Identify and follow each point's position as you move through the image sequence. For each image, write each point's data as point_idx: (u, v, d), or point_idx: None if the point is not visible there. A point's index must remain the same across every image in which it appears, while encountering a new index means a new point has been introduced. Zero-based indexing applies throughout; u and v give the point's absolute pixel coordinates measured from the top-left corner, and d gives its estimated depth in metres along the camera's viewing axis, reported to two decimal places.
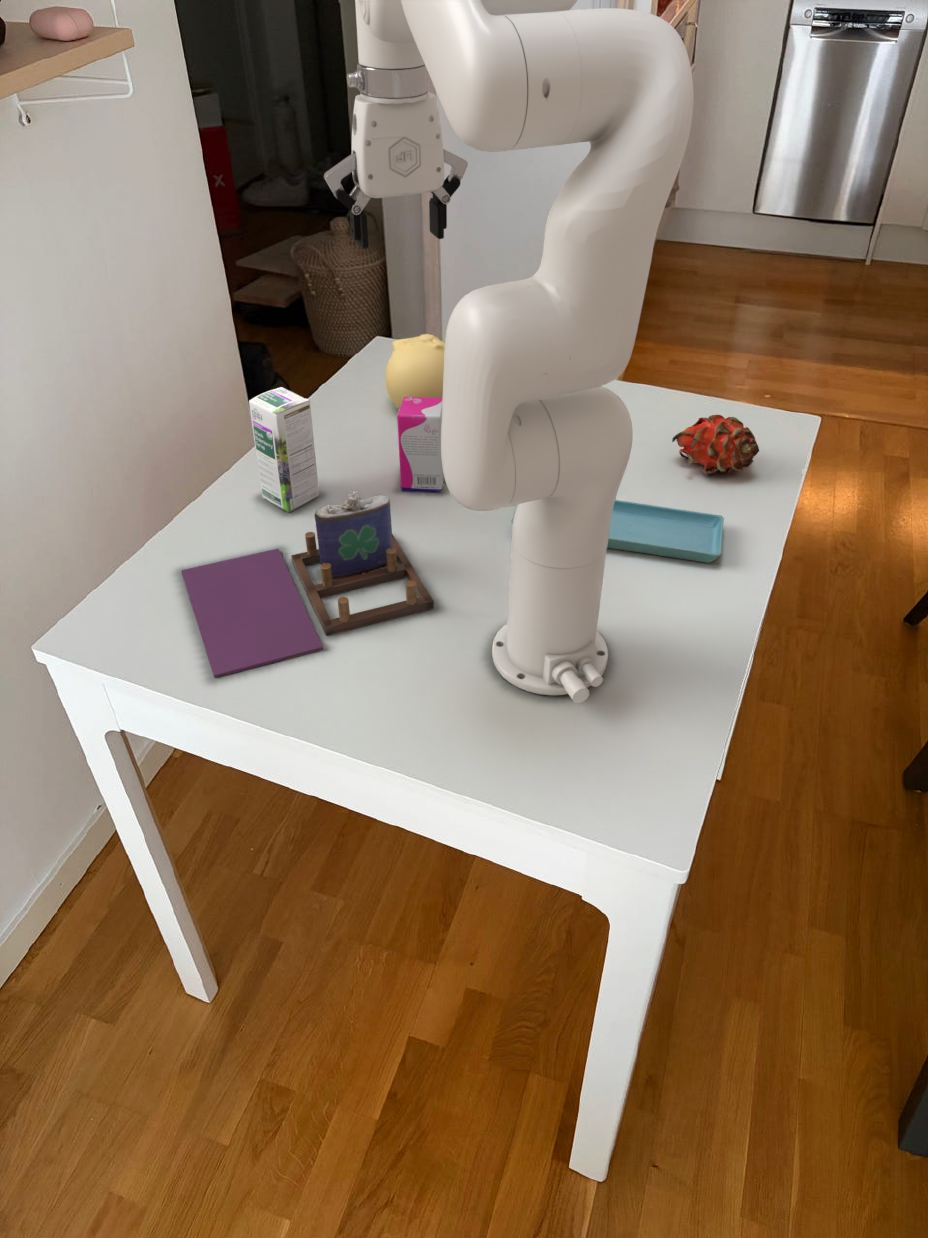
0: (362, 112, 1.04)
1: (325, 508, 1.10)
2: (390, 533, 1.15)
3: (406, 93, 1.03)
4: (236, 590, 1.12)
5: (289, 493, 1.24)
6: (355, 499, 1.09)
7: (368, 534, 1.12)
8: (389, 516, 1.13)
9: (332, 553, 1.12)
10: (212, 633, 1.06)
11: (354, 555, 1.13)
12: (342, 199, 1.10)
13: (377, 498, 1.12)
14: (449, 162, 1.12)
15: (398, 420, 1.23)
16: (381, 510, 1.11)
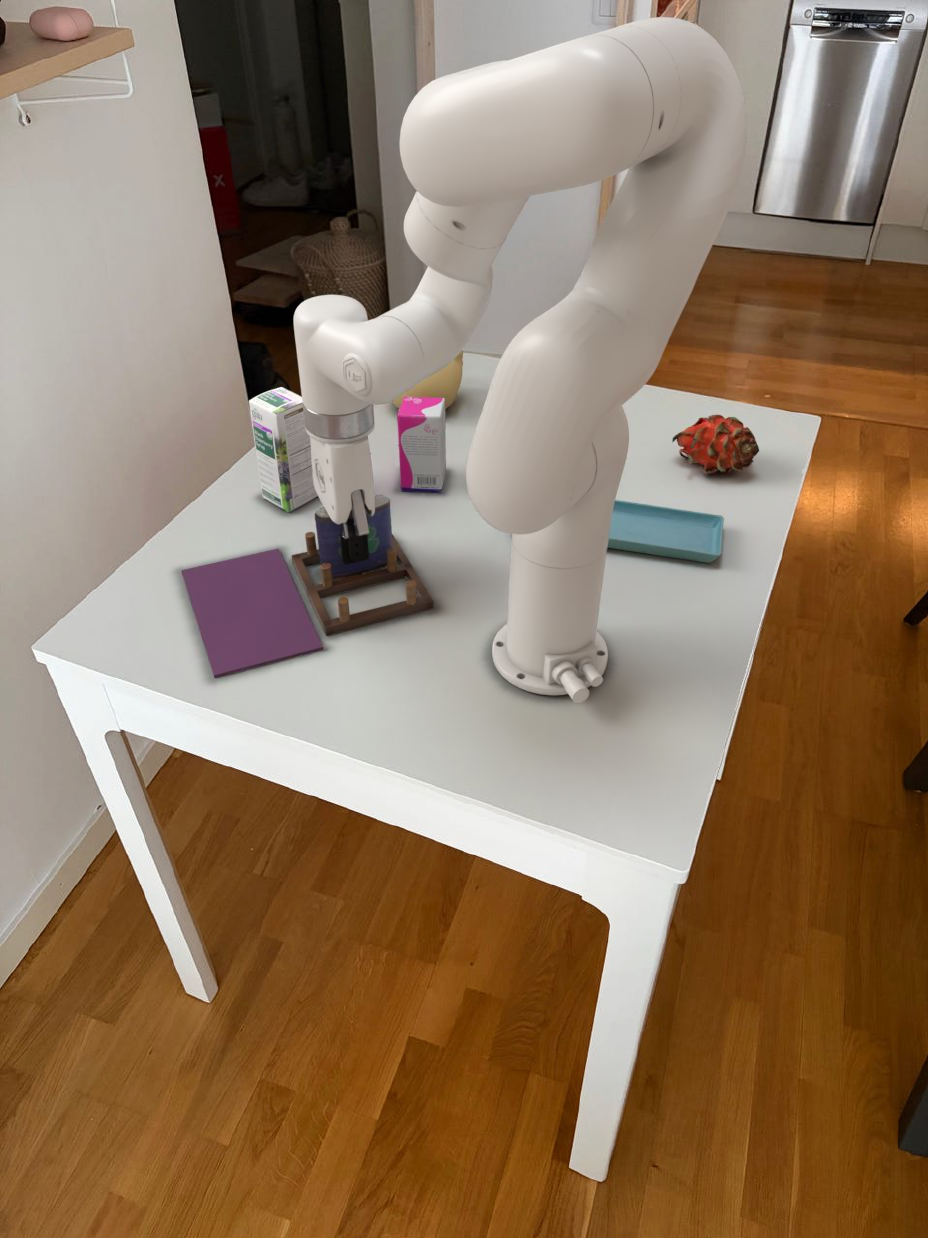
0: None
1: None
2: (390, 532, 1.15)
3: (306, 425, 1.02)
4: (236, 590, 1.12)
5: (289, 493, 1.24)
6: None
7: None
8: (389, 516, 1.13)
9: (332, 553, 1.12)
10: (212, 633, 1.06)
11: None
12: None
13: (377, 498, 1.12)
14: (353, 515, 1.06)
15: (398, 420, 1.23)
16: (381, 510, 1.11)
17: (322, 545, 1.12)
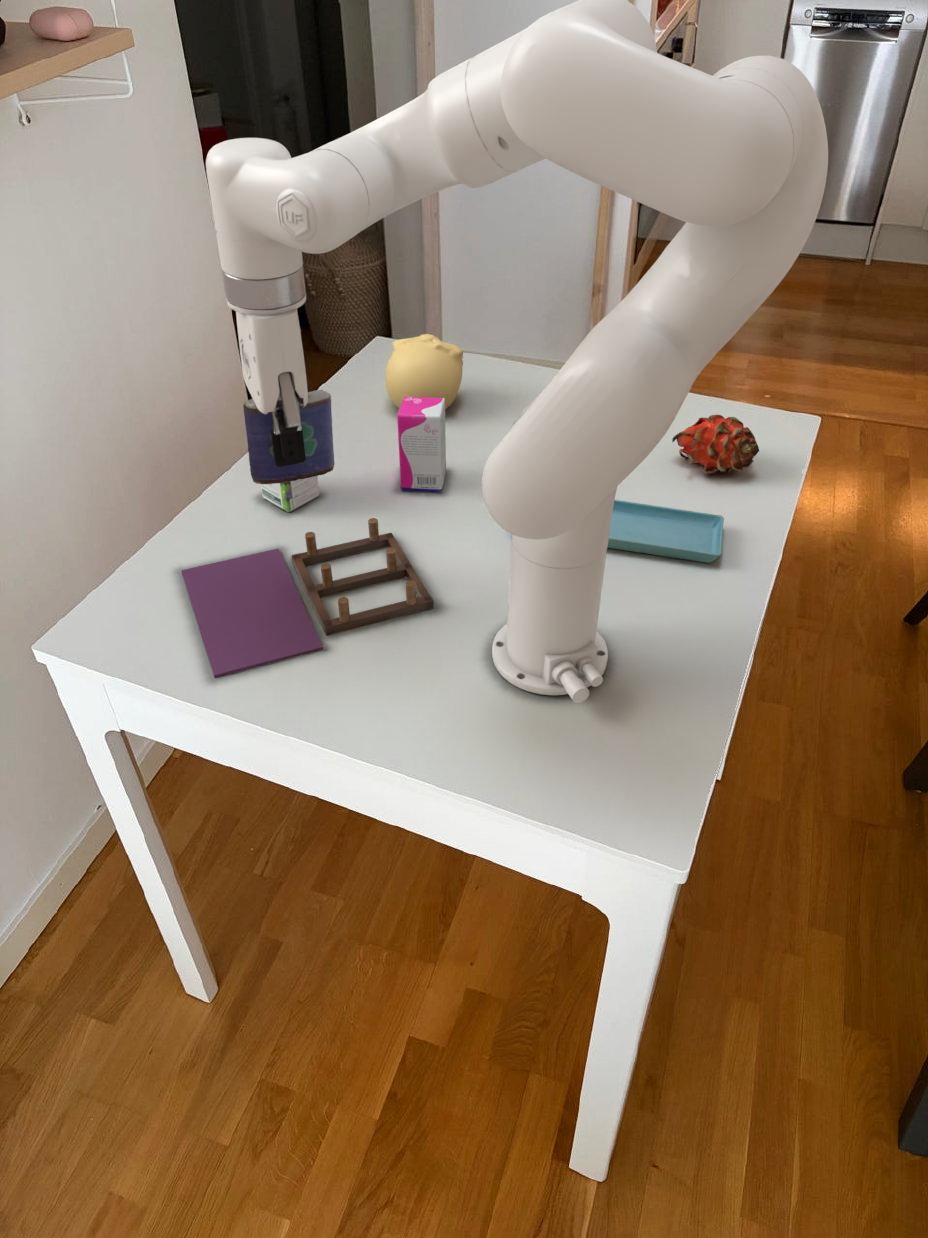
0: None
1: None
2: (330, 435, 1.02)
3: (226, 295, 0.89)
4: (236, 590, 1.12)
5: (289, 493, 1.24)
6: None
7: (304, 432, 1.00)
8: (329, 414, 1.00)
9: (263, 453, 1.00)
10: (212, 633, 1.06)
11: None
12: None
13: (316, 393, 1.00)
14: (282, 404, 0.93)
15: (398, 420, 1.23)
16: (319, 406, 0.99)
17: (251, 442, 0.99)
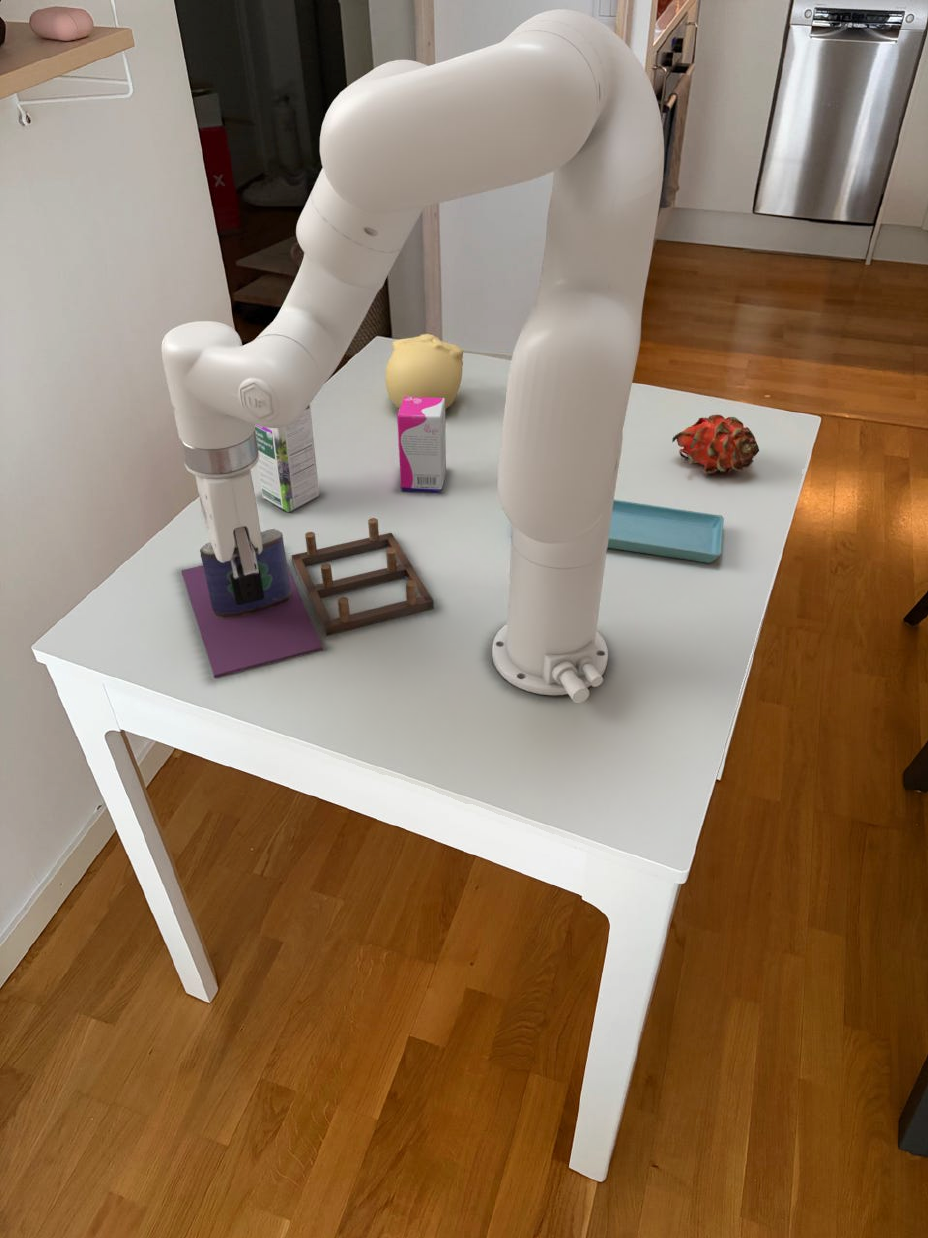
0: None
1: None
2: (285, 569, 1.08)
3: (183, 458, 0.96)
4: None
5: (289, 493, 1.24)
6: None
7: None
8: (282, 551, 1.07)
9: (221, 591, 1.06)
10: (212, 633, 1.06)
11: None
12: None
13: (268, 533, 1.06)
14: (238, 554, 0.99)
15: (398, 420, 1.23)
16: (271, 546, 1.05)
17: (210, 582, 1.06)
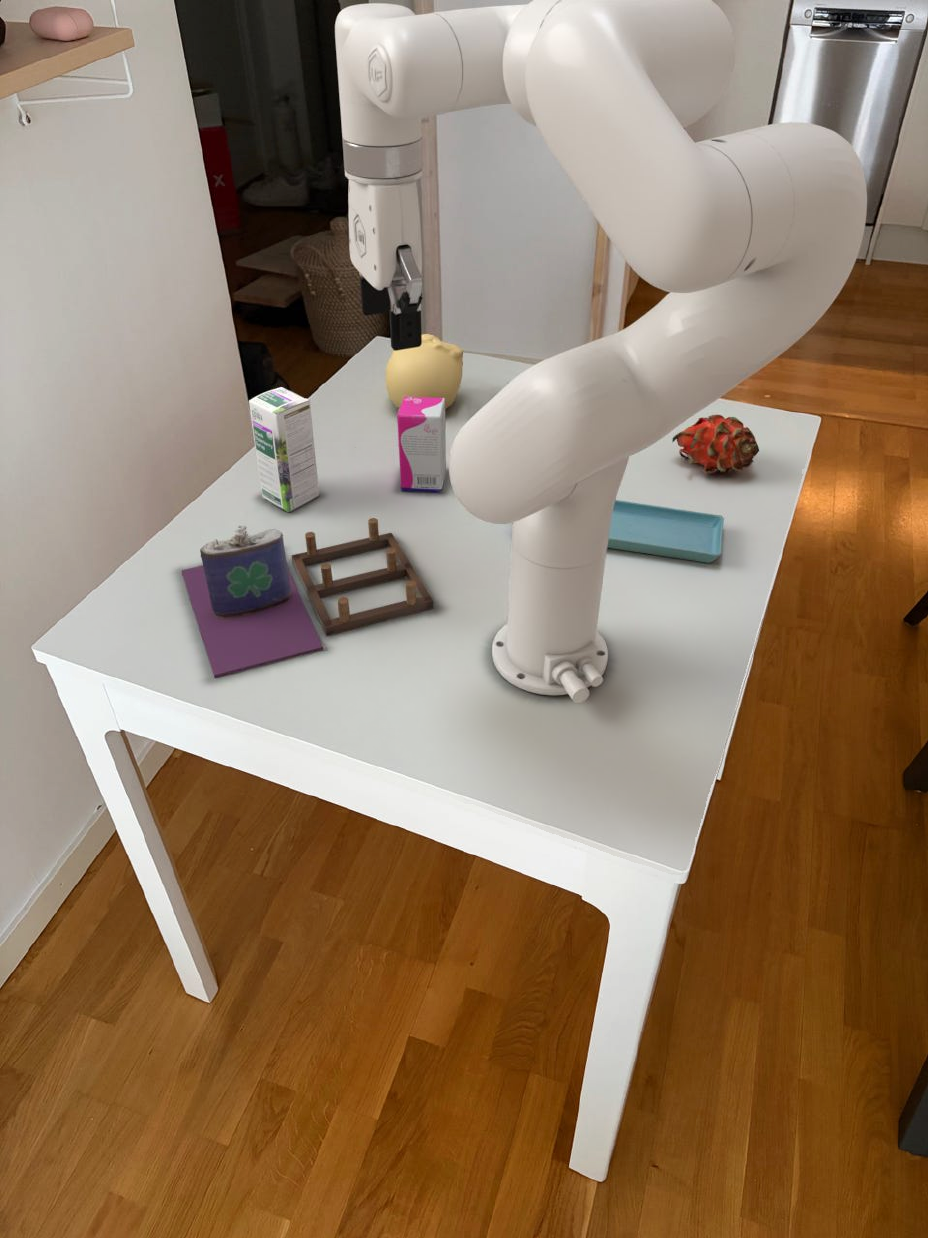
0: None
1: (211, 544, 1.04)
2: (285, 569, 1.08)
3: (346, 167, 0.90)
4: None
5: (289, 493, 1.24)
6: (242, 535, 1.03)
7: (259, 570, 1.06)
8: (282, 552, 1.07)
9: (221, 591, 1.06)
10: (212, 633, 1.06)
11: (245, 592, 1.07)
12: None
13: (269, 533, 1.06)
14: (402, 272, 0.92)
15: (398, 420, 1.23)
16: (272, 546, 1.05)
17: (210, 582, 1.06)
